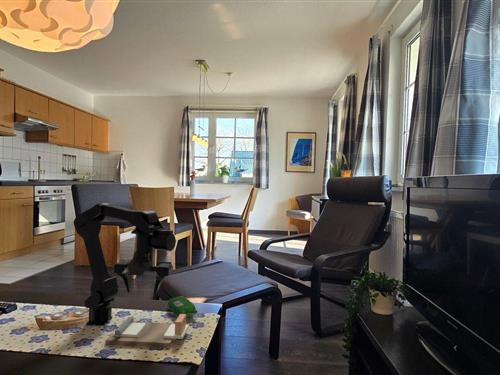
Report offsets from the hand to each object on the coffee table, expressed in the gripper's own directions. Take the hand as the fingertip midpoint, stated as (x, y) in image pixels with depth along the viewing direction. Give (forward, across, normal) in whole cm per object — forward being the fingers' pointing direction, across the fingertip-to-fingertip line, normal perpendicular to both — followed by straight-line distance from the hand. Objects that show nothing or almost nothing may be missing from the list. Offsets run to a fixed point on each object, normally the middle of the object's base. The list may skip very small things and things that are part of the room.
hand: (142, 293), depth 102 cm
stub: (+10, +14, -4) cm, 18 cm away
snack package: (+13, +10, +14) cm, 22 cm away
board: (+12, +3, -4) cm, 13 cm away
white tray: (+11, -2, -4) cm, 12 cm away
